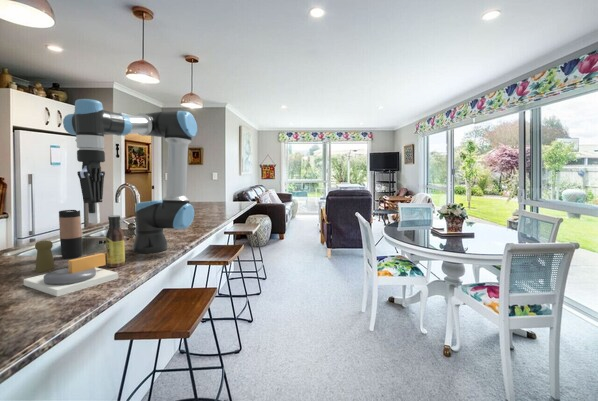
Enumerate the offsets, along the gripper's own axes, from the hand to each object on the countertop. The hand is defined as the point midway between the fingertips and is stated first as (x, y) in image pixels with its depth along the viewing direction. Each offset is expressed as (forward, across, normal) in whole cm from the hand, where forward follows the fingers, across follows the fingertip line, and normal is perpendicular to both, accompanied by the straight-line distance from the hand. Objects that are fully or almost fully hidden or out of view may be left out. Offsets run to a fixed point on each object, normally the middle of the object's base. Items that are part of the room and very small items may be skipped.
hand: (94, 222), depth 106 cm
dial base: (+20, -2, -9) cm, 22 cm away
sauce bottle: (+21, -20, -2) cm, 29 cm away
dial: (+18, -2, -7) cm, 19 cm away
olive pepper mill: (+21, -18, -26) cm, 38 cm away
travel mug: (+21, -36, -27) cm, 49 cm away
